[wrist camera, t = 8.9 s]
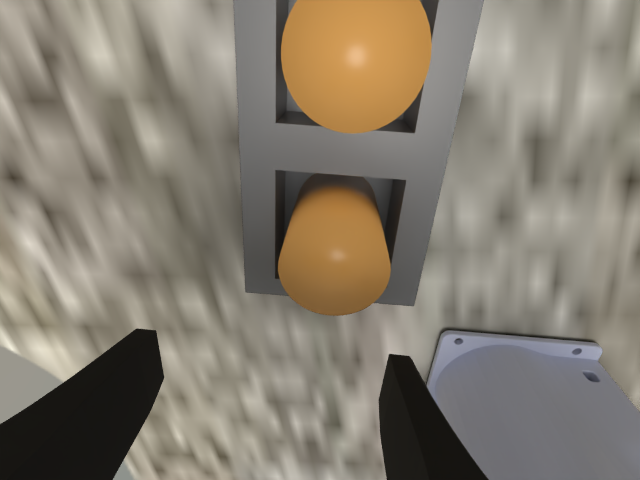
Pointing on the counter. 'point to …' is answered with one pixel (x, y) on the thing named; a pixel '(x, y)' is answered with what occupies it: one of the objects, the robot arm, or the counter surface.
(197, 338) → the counter surface
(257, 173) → the housing
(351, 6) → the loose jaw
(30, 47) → the counter surface
